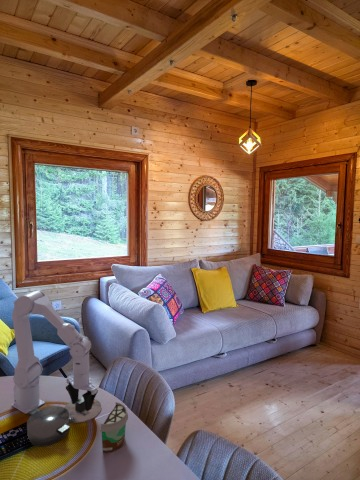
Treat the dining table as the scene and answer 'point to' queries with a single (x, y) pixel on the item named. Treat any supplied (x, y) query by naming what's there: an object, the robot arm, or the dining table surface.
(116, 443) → the food container
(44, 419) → the cooker pot
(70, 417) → the cooker lid
